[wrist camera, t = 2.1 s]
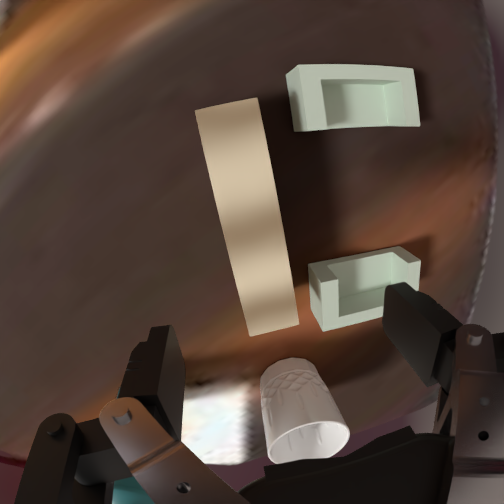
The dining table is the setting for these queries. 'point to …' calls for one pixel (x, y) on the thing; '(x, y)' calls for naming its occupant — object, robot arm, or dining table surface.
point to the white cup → (299, 413)
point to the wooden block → (249, 212)
